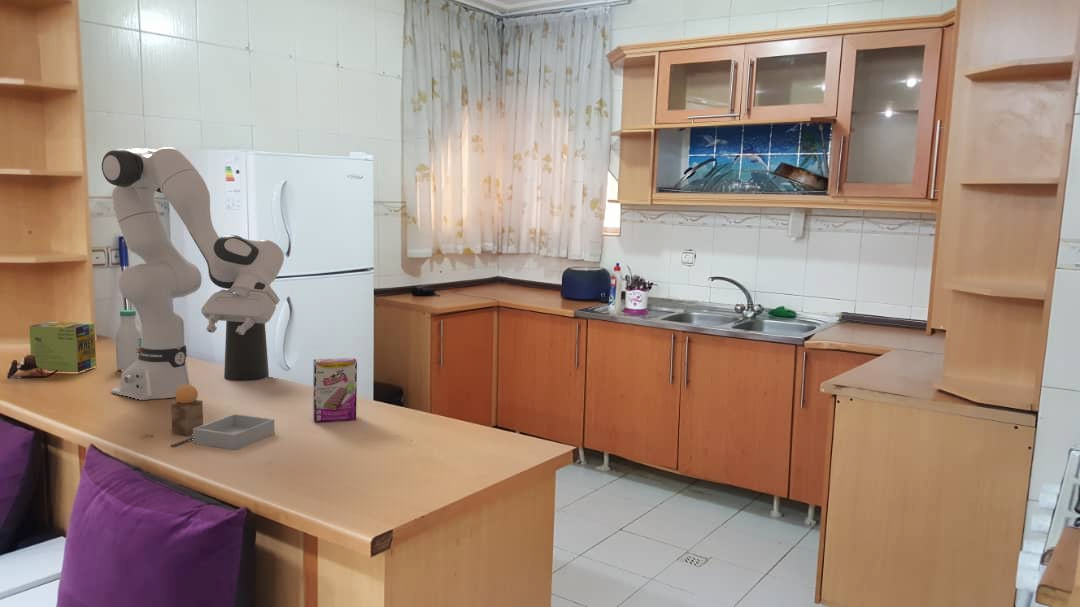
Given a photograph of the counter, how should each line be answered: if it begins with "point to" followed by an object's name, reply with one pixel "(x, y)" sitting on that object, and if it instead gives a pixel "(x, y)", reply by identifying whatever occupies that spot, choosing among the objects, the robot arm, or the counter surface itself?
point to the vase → (245, 353)
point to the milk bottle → (127, 340)
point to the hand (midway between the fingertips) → (224, 332)
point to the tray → (233, 431)
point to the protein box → (63, 346)
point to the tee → (186, 417)
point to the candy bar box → (334, 389)
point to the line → (182, 442)
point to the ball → (186, 394)
